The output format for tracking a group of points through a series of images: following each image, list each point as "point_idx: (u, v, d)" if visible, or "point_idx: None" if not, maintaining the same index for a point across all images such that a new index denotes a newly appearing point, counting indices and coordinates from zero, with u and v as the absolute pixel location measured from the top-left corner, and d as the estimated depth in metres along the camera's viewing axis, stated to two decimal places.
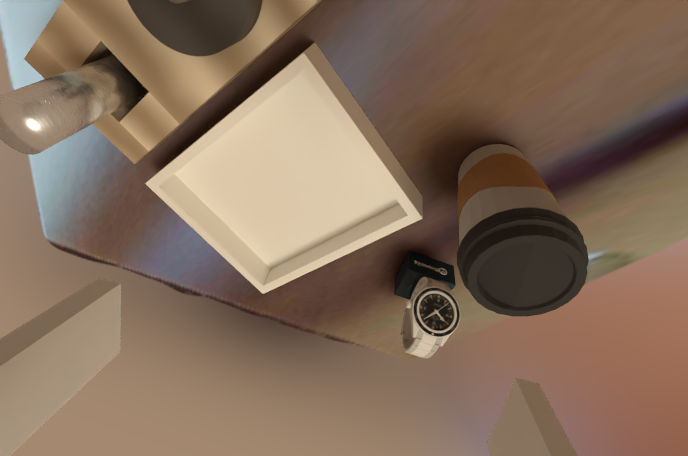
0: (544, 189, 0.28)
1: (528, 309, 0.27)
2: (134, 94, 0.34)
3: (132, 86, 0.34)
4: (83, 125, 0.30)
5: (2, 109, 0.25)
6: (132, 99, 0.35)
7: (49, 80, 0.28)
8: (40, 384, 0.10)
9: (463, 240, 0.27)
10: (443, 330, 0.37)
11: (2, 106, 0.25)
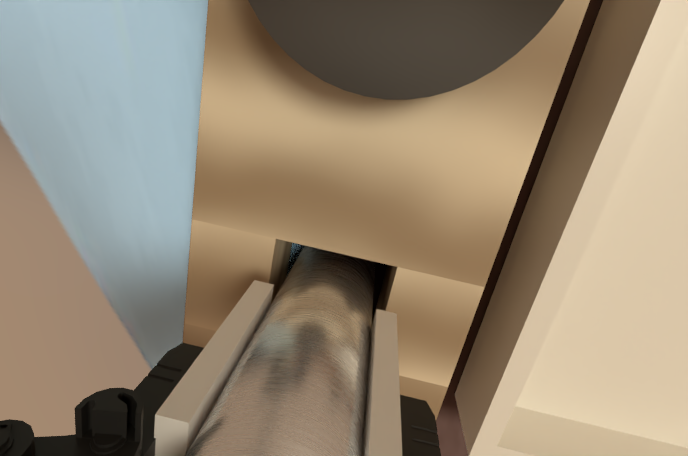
0: None
1: None
2: (371, 295, 0.16)
3: (362, 280, 0.16)
4: (363, 426, 0.10)
5: None
6: (372, 306, 0.16)
7: (244, 367, 0.10)
8: None
9: None
10: None
11: None
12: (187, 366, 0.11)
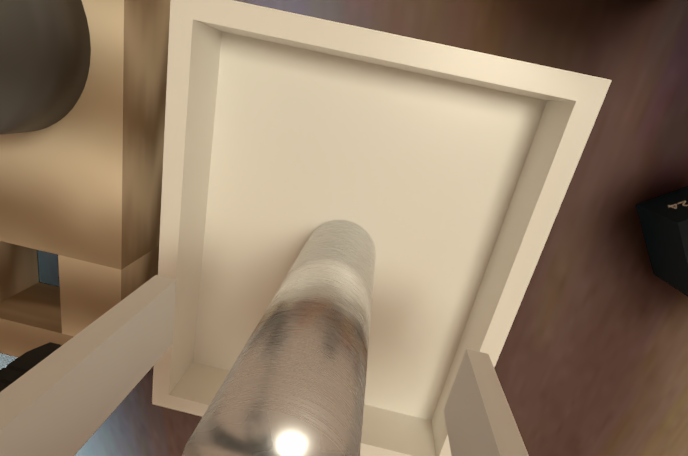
0: None
1: None
2: (372, 274, 0.18)
3: (364, 261, 0.18)
4: (366, 373, 0.12)
5: (220, 455, 0.08)
6: (373, 285, 0.18)
7: (265, 322, 0.12)
8: (115, 372, 0.11)
9: None
10: None
11: (218, 446, 0.08)
12: None
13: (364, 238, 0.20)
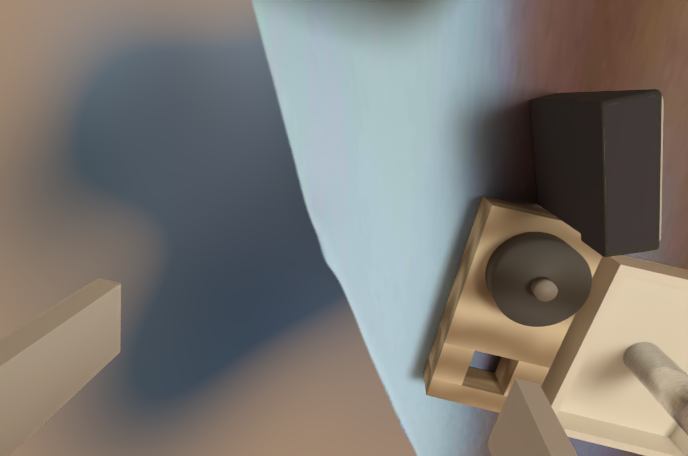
0: None
1: None
2: None
3: (683, 371, 0.40)
4: None
5: None
6: None
7: None
8: (40, 384, 0.10)
9: None
10: None
11: None
12: None
13: None
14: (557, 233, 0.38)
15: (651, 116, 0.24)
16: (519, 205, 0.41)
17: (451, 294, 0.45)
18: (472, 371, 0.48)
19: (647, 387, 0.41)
